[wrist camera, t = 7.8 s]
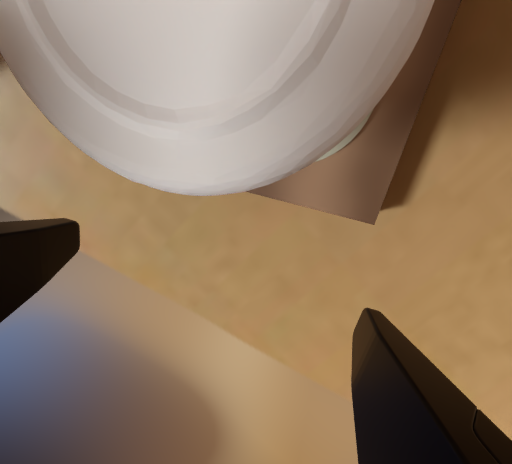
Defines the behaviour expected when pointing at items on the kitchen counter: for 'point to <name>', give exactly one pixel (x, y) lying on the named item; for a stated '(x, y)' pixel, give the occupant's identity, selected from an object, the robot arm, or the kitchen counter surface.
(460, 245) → the kitchen counter surface
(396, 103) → the walnut plinth
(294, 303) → the kitchen counter surface
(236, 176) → the sprinkles bottle
